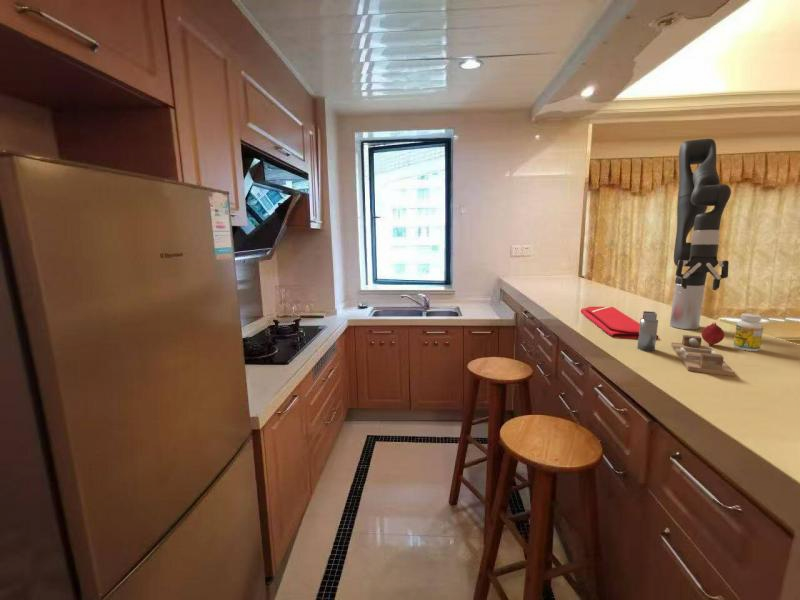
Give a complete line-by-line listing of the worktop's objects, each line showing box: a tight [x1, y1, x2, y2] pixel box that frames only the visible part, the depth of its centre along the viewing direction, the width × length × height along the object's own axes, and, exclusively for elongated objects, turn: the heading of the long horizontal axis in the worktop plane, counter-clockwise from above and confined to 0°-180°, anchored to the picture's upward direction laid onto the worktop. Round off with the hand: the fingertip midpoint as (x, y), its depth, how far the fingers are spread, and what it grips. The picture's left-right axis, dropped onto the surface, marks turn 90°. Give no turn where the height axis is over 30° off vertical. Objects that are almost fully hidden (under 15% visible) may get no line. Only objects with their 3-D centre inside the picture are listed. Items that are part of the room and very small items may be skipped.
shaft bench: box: [670, 334, 736, 377], centre depth 111 cm, size 24×10×5 cm, turn 153°
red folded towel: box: [580, 306, 659, 340], centre depth 152 cm, size 16×41×4 cm, turn 169°
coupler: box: [637, 310, 659, 352], centre depth 120 cm, size 5×5×12 cm
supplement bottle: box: [733, 312, 764, 352], centre depth 119 cm, size 6×6×11 cm
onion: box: [700, 321, 725, 346], centre depth 123 cm, size 6×6×8 cm
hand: (699, 289), depth 131 cm, fingers open, 8 cm apart
